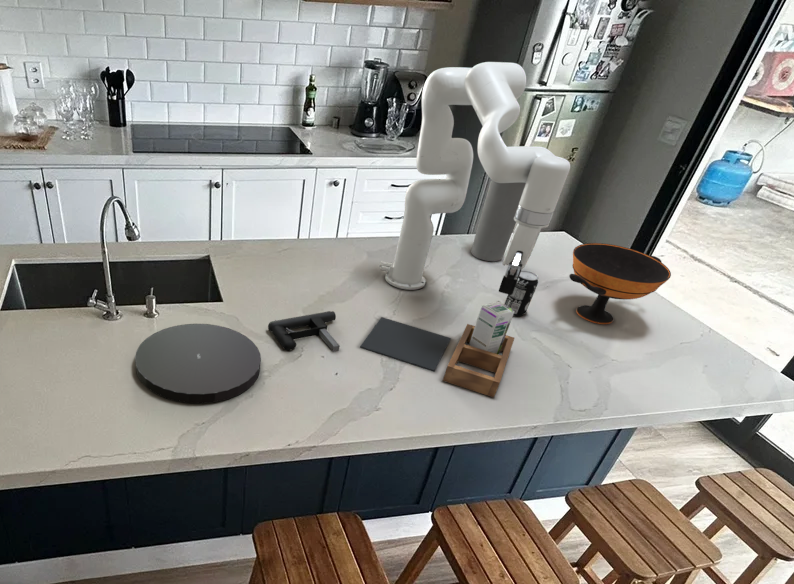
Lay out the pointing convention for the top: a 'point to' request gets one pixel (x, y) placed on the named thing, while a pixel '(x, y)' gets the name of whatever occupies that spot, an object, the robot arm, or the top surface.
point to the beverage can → (522, 293)
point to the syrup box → (491, 327)
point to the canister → (497, 220)
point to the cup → (614, 276)
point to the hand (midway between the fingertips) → (508, 285)
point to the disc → (197, 363)
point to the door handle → (316, 328)
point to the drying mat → (406, 343)
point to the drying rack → (477, 365)
